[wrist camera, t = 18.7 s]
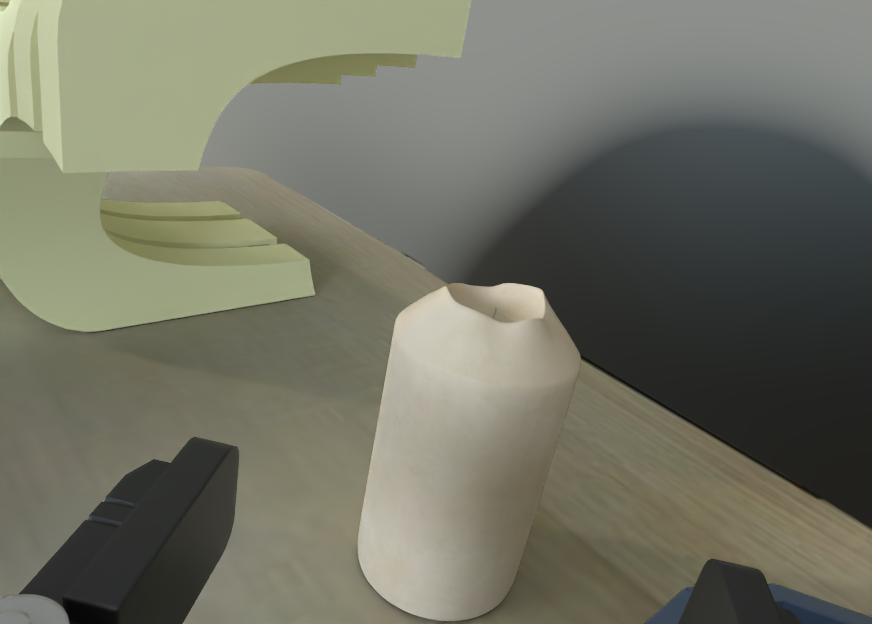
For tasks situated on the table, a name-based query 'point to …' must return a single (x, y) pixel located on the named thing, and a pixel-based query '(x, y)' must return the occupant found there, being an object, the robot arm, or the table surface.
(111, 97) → the slatted curved stool
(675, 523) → the table surface
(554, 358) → the candle
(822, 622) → the ring
